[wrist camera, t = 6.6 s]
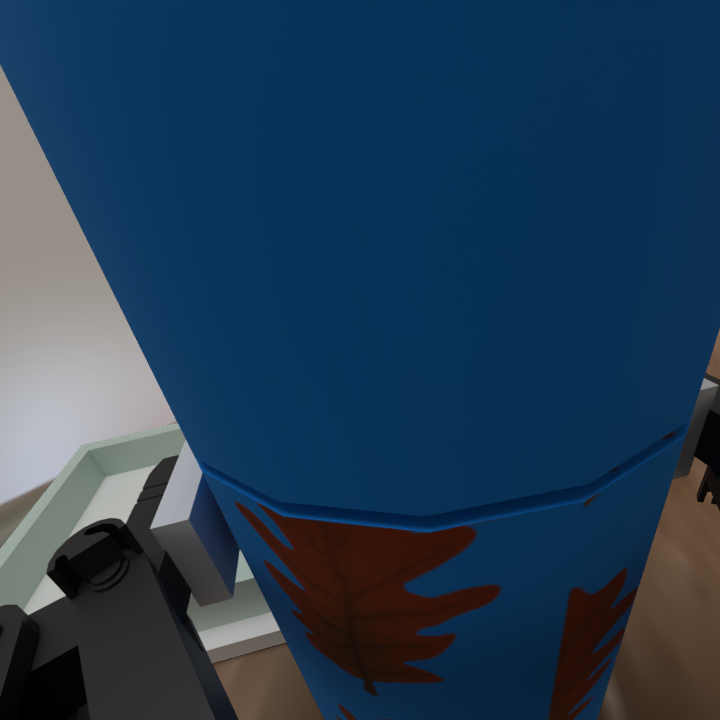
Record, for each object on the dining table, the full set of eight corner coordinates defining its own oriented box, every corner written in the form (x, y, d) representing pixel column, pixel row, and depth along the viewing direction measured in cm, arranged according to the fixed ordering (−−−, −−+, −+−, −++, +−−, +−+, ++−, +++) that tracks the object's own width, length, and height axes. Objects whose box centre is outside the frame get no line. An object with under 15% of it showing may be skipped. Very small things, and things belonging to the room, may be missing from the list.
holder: (293, 429, 35) (281, 392, 33) (296, 639, 19) (273, 592, 17) (99, 476, 34) (75, 440, 32) (-73, 743, 18) (-142, 705, 16)
